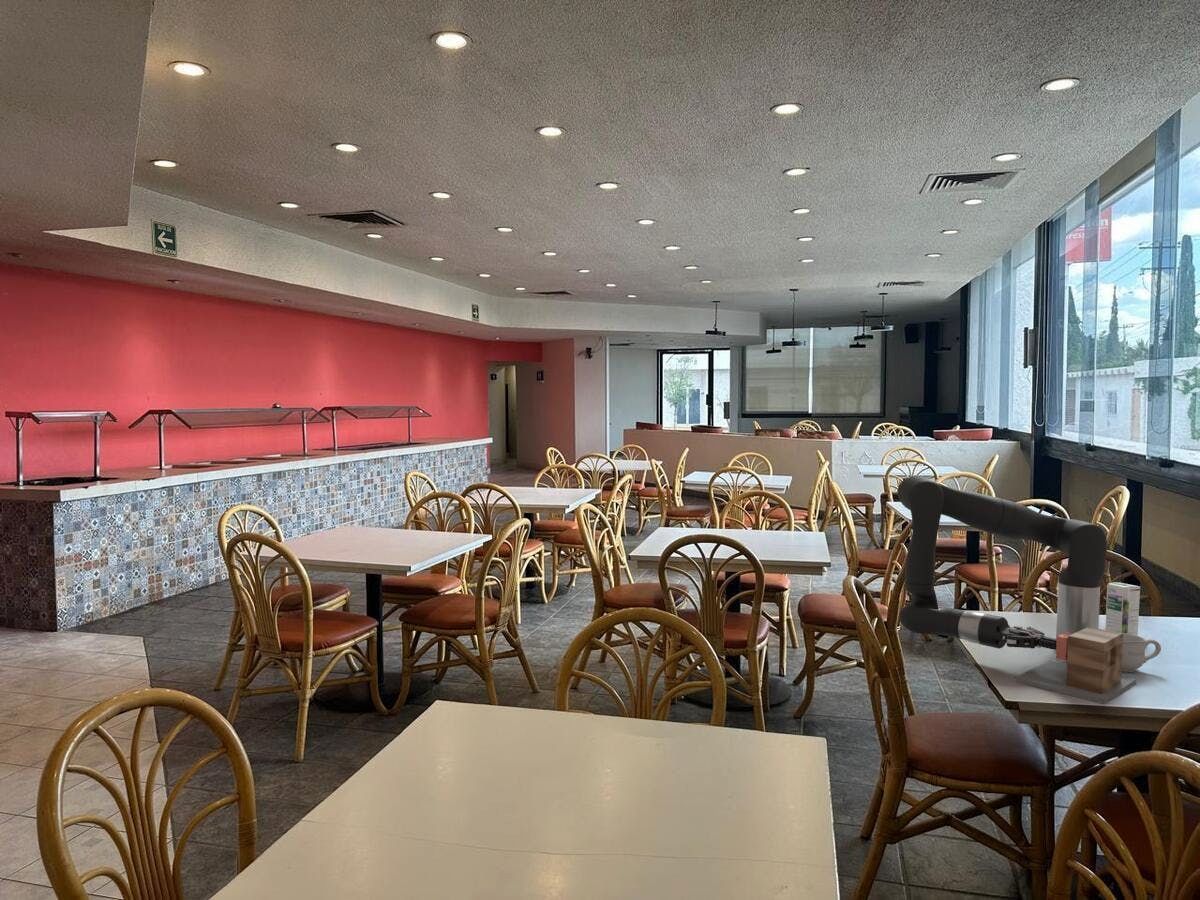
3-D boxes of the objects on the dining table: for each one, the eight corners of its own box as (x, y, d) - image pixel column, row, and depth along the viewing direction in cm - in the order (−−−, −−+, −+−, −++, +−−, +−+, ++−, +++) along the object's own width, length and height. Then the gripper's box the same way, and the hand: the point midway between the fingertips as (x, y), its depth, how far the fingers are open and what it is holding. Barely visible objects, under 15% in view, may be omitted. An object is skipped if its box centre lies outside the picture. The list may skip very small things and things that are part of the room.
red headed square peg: (1064, 654, 186) (1065, 632, 186) (1108, 663, 179) (1109, 641, 179) (1055, 658, 183) (1056, 636, 183) (1100, 668, 176) (1101, 645, 176)
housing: (1085, 678, 186) (1088, 626, 185) (1120, 686, 181) (1123, 633, 180) (1066, 690, 178) (1068, 635, 178) (1101, 698, 173) (1104, 643, 172)
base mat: (1050, 664, 197) (1050, 660, 196) (1135, 683, 183) (1136, 679, 183) (1015, 681, 183) (1015, 677, 183) (1104, 704, 170) (1105, 699, 170)
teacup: (1092, 671, 192) (1094, 637, 191) (1089, 658, 201) (1091, 626, 201) (1164, 681, 185) (1165, 646, 185) (1157, 667, 195) (1158, 634, 194)
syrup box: (1103, 635, 222) (1106, 583, 222) (1117, 633, 225) (1119, 581, 224) (1124, 641, 217) (1127, 587, 217) (1138, 638, 220) (1141, 585, 219)
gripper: (971, 618, 193) (1049, 634, 180) (995, 609, 202) (1072, 624, 189) (970, 649, 193) (1048, 667, 180) (994, 639, 202) (1070, 656, 189)
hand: (1060, 645), depth 184 cm, fingers closed
